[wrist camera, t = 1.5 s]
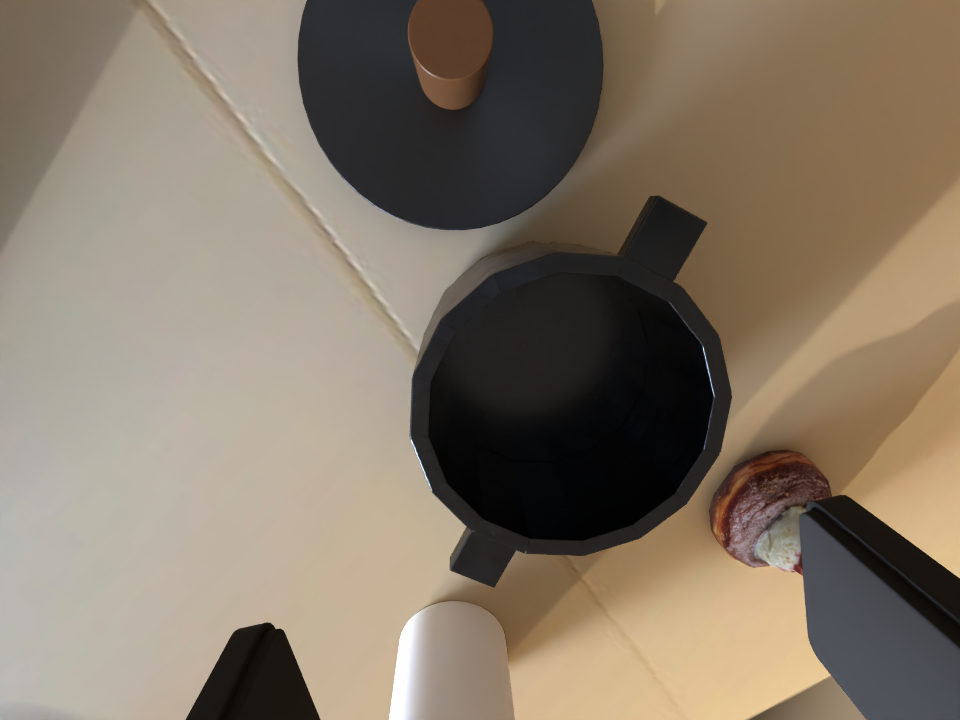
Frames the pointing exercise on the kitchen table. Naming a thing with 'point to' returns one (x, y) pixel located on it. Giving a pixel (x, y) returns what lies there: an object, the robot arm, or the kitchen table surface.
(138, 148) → the kitchen table surface
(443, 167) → the lid
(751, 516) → the pastry
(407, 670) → the cylindrical container
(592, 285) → the pot
